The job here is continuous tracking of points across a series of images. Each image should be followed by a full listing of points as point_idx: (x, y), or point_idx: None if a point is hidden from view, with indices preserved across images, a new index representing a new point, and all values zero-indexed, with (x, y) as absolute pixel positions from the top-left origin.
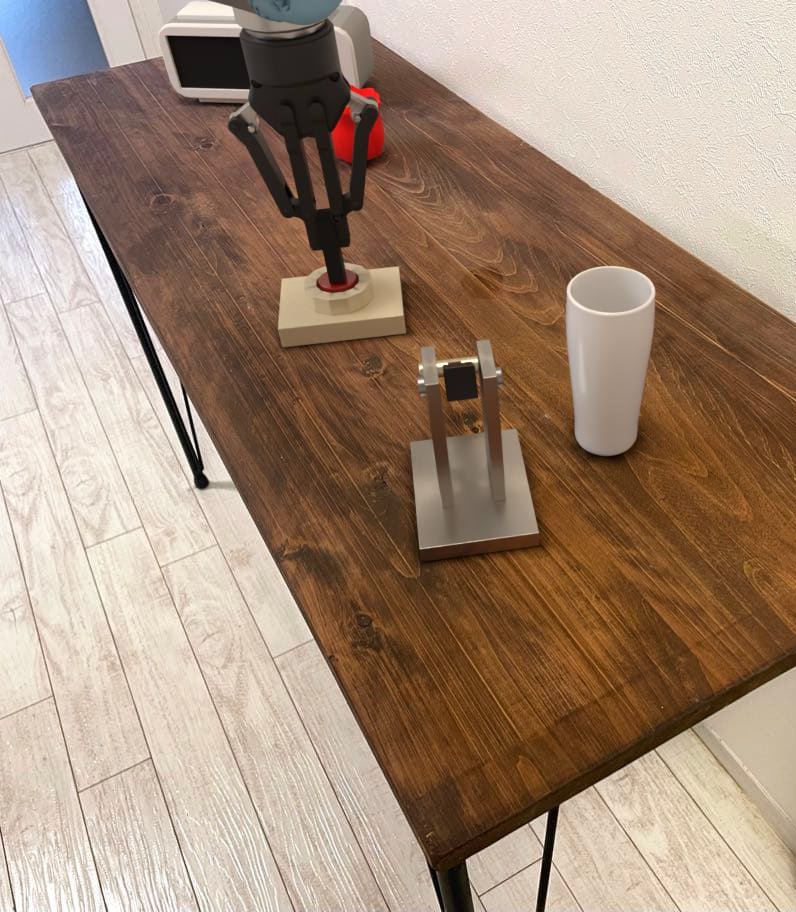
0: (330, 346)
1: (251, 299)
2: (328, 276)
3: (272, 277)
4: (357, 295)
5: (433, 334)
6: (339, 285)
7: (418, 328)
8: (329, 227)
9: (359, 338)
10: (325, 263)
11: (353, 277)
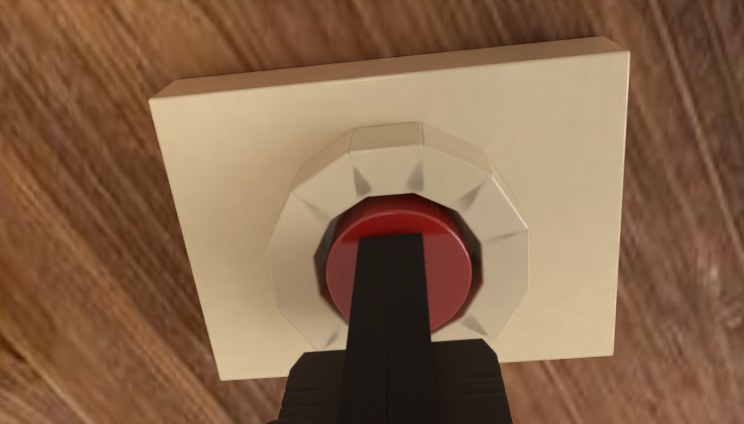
0: (432, 29)
1: (704, 312)
2: (421, 248)
3: (635, 408)
4: (310, 175)
5: (81, 68)
6: (383, 228)
7: (139, 108)
8: (365, 416)
9: (332, 64)
10: (425, 282)
11: (332, 273)
